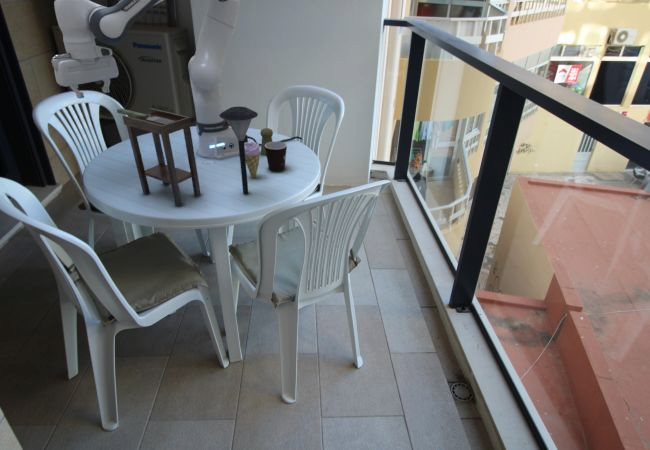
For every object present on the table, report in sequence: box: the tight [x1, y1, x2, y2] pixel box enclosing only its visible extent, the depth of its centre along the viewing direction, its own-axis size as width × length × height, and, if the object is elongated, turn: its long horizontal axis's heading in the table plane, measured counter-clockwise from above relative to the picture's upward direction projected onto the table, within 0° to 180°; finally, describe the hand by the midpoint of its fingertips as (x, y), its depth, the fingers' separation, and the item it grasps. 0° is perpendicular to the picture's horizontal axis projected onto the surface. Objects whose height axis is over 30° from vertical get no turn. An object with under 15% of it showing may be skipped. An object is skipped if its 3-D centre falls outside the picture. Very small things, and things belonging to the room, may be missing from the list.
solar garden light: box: [219, 106, 259, 196], centre depth 132 cm, size 12×12×30 cm
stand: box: [121, 107, 202, 208], centre depth 130 cm, size 18×11×28 cm, turn 61°
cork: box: [260, 127, 274, 157], centre depth 169 cm, size 6×6×11 cm
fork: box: [116, 108, 175, 125], centre depth 126 cm, size 24×4×1 cm, turn 61°
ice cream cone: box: [245, 140, 261, 179], centre depth 147 cm, size 7×6×15 cm
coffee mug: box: [265, 140, 288, 173], centre depth 157 cm, size 12×9×10 cm
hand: (94, 95), depth 134 cm, fingers open, 8 cm apart
